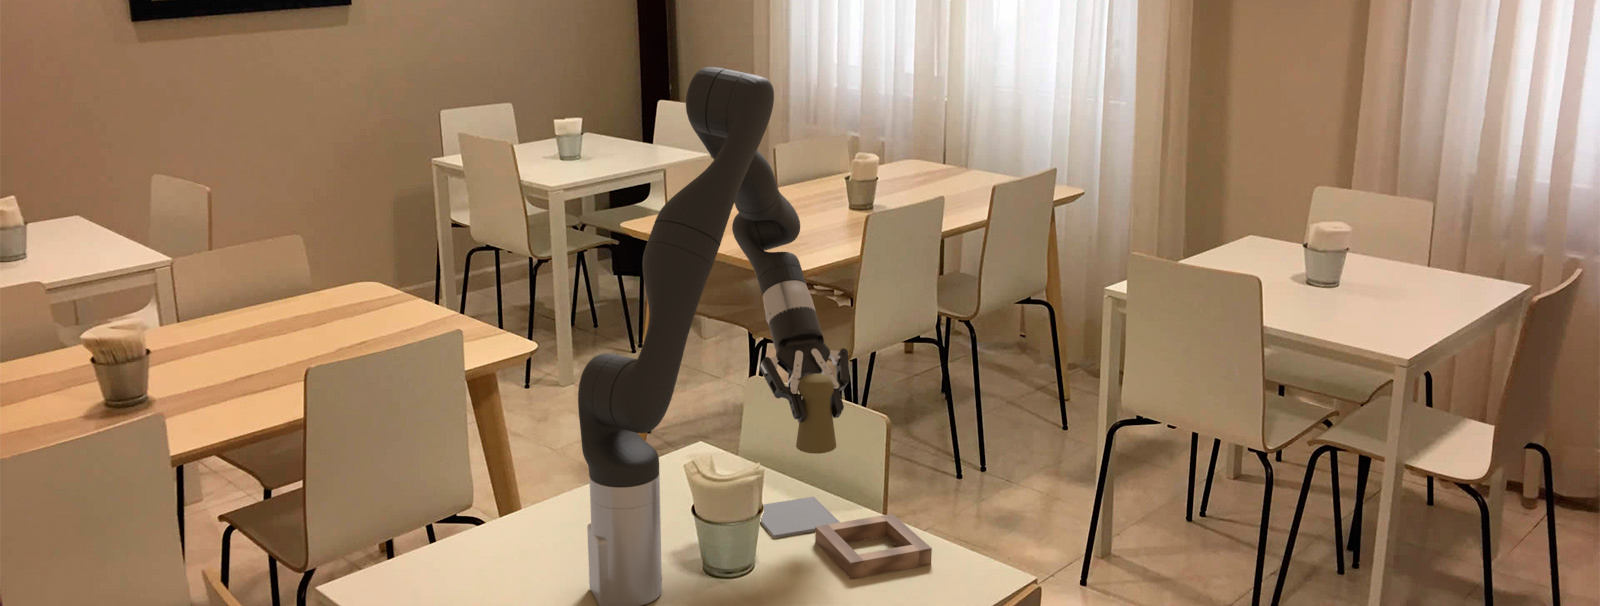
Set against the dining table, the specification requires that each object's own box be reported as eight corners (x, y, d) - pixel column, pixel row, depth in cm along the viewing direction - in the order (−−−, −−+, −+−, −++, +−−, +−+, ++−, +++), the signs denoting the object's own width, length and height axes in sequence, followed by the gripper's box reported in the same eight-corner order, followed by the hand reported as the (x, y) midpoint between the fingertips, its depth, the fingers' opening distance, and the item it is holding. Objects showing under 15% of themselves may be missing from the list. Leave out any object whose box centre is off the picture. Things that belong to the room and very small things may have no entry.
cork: (832, 455, 189) (832, 384, 186) (791, 451, 191) (791, 381, 188) (840, 439, 195) (840, 370, 192) (800, 436, 196) (800, 367, 193)
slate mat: (774, 538, 192) (774, 535, 192) (748, 509, 202) (748, 506, 202) (841, 526, 196) (841, 523, 196) (813, 499, 206) (813, 496, 206)
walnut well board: (850, 579, 180) (850, 562, 179) (815, 542, 191) (815, 526, 190) (931, 564, 184) (931, 548, 184) (892, 528, 196) (892, 513, 195)
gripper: (752, 309, 192) (780, 413, 184) (842, 300, 197) (873, 401, 189) (741, 333, 198) (768, 434, 190) (828, 324, 203) (857, 422, 195)
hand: (820, 417), depth 190 cm, fingers closed on cork, 5 cm apart
